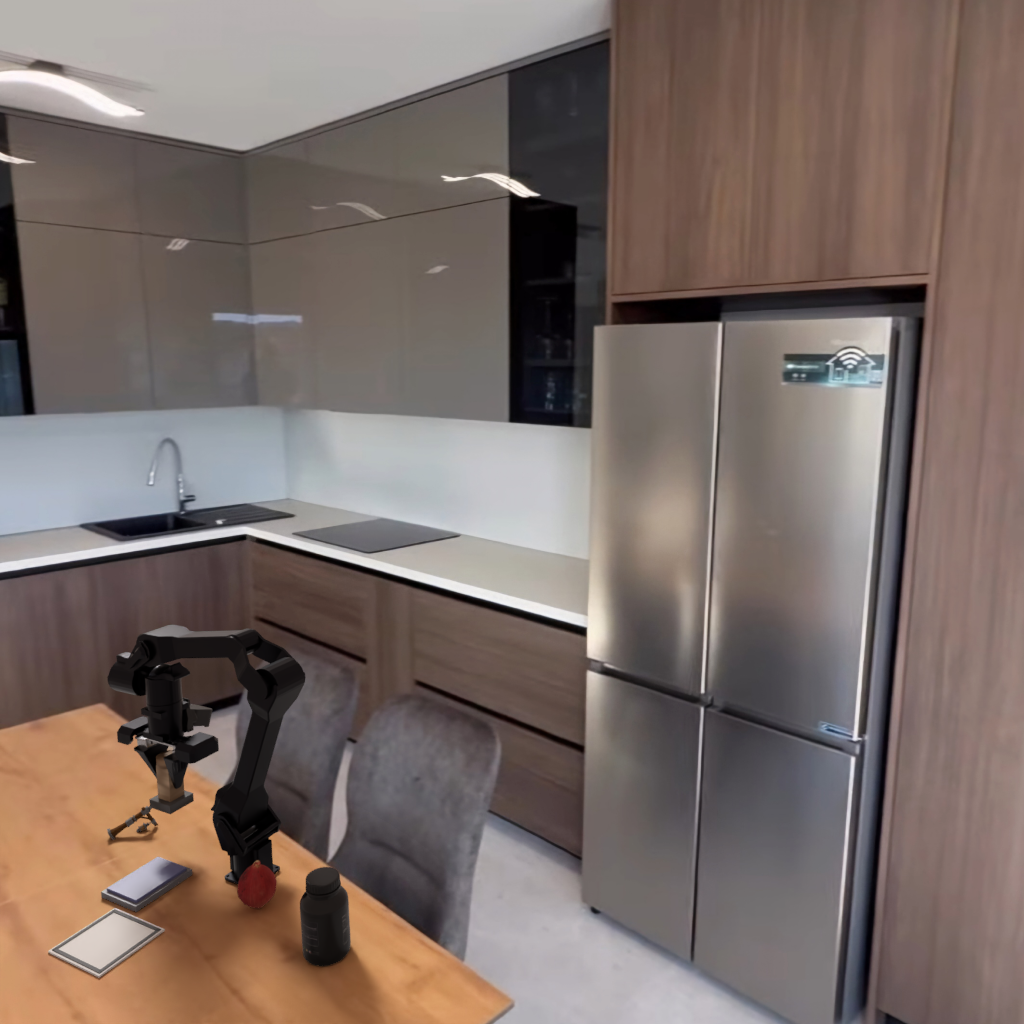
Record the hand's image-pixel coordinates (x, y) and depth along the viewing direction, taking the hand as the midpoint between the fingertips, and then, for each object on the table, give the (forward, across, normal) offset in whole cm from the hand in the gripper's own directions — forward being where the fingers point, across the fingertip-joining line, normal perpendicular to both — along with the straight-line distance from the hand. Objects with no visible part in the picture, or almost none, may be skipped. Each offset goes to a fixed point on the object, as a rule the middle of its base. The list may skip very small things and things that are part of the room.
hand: (170, 785), depth 143 cm
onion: (+12, -25, +6) cm, 28 cm away
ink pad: (+12, -5, +10) cm, 16 cm away
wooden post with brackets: (+12, +11, 0) cm, 17 cm away
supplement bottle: (+12, -41, +8) cm, 43 cm away
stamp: (+4, 0, 0) cm, 4 cm away
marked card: (+12, -11, +22) cm, 27 cm away
